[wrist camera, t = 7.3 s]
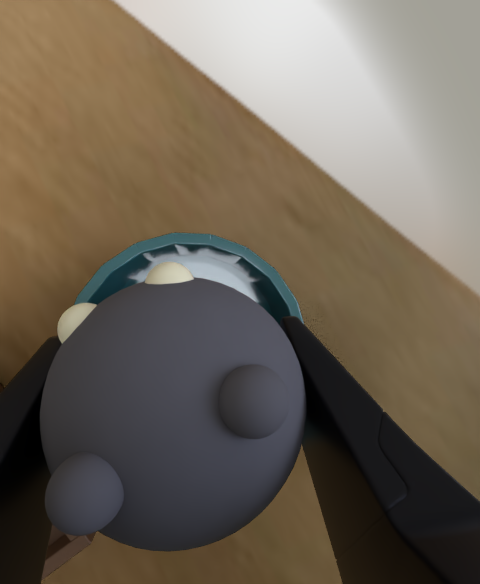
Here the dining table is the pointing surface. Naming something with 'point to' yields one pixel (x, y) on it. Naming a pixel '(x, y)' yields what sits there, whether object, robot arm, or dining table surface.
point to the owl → (169, 413)
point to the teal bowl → (196, 270)
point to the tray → (62, 546)
